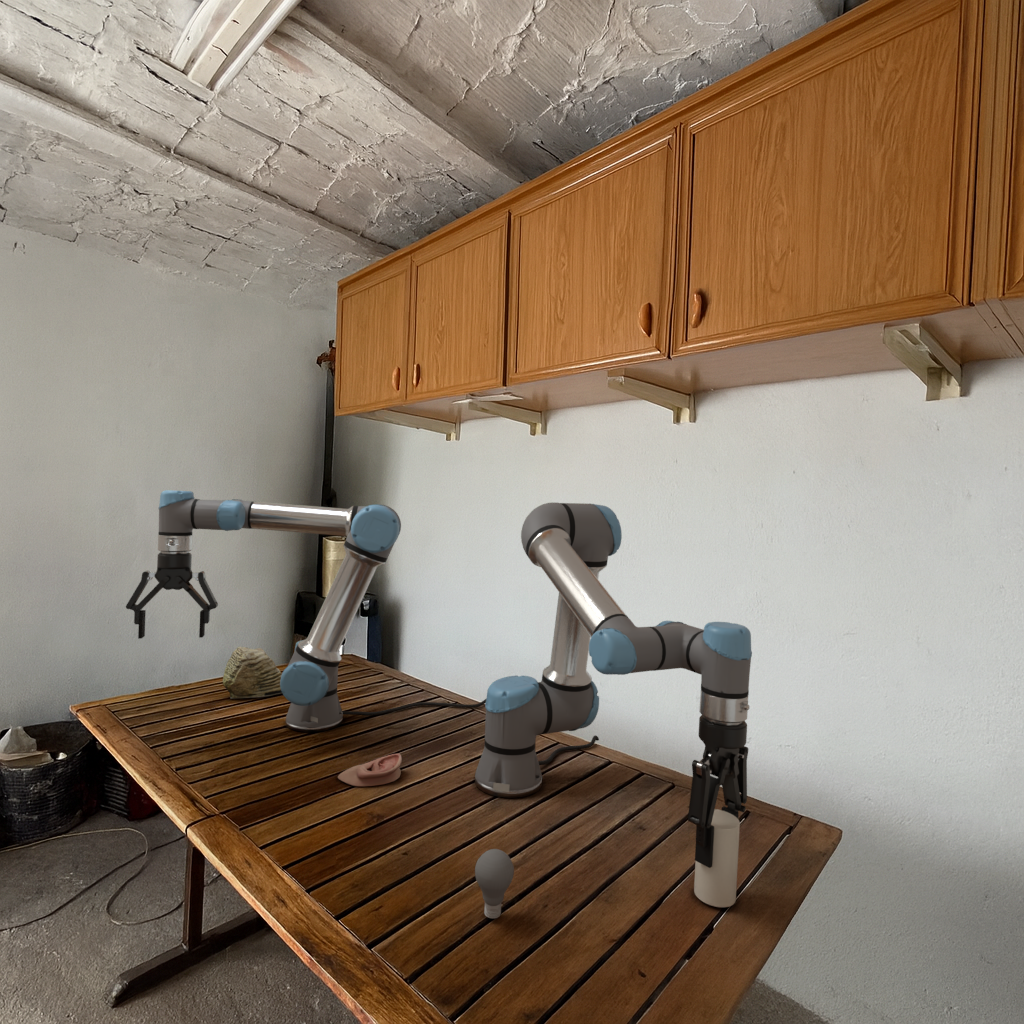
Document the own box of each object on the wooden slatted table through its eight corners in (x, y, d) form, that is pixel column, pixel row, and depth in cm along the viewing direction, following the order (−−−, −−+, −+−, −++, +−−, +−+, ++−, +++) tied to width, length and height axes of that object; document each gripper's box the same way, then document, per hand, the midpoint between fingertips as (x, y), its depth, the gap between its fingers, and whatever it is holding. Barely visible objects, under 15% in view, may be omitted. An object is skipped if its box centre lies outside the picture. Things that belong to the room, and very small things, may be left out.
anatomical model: (331, 765, 140) (354, 745, 151) (331, 782, 140) (354, 762, 151) (388, 772, 137) (407, 752, 148) (387, 791, 137) (406, 769, 148)
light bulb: (472, 903, 100) (475, 841, 100) (510, 903, 101) (513, 841, 101) (473, 929, 94) (476, 863, 94) (513, 928, 95) (516, 862, 95)
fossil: (218, 695, 195) (220, 647, 195) (278, 685, 208) (279, 640, 207) (228, 703, 189) (230, 653, 188) (289, 692, 201) (290, 645, 201)
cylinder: (712, 878, 110) (716, 805, 109) (744, 899, 104) (748, 823, 104) (685, 889, 106) (689, 814, 106) (717, 912, 100) (721, 832, 100)
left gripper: (113, 552, 151) (110, 641, 151) (226, 554, 158) (223, 639, 158) (122, 549, 158) (120, 634, 158) (231, 551, 165) (228, 632, 165)
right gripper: (710, 738, 95) (703, 888, 96) (773, 712, 108) (766, 845, 109) (668, 723, 101) (661, 865, 101) (733, 701, 114) (726, 827, 114)
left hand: (172, 637), depth 158 cm, fingers open, 13 cm apart
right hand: (716, 855), depth 105 cm, fingers open, 7 cm apart
